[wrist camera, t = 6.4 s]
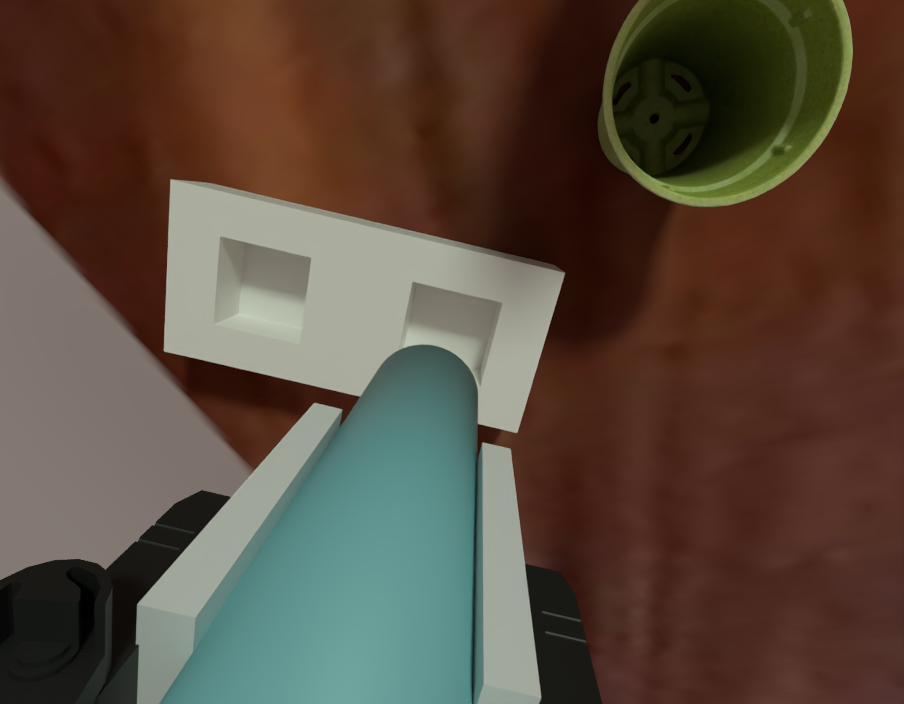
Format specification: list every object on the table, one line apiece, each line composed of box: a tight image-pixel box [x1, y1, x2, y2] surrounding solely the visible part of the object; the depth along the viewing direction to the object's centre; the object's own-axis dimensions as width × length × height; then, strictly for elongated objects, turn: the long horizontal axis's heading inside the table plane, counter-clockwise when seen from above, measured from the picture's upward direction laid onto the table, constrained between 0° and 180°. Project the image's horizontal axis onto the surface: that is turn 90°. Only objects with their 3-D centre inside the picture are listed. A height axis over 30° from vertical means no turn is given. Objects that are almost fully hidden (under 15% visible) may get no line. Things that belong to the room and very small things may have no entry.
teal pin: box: [159, 344, 478, 704], centre depth 10 cm, size 4×4×15 cm
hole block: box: [164, 179, 565, 433], centre depth 29 cm, size 10×22×4 cm, turn 77°
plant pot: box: [598, 0, 853, 207], centre depth 23 cm, size 9×9×9 cm
